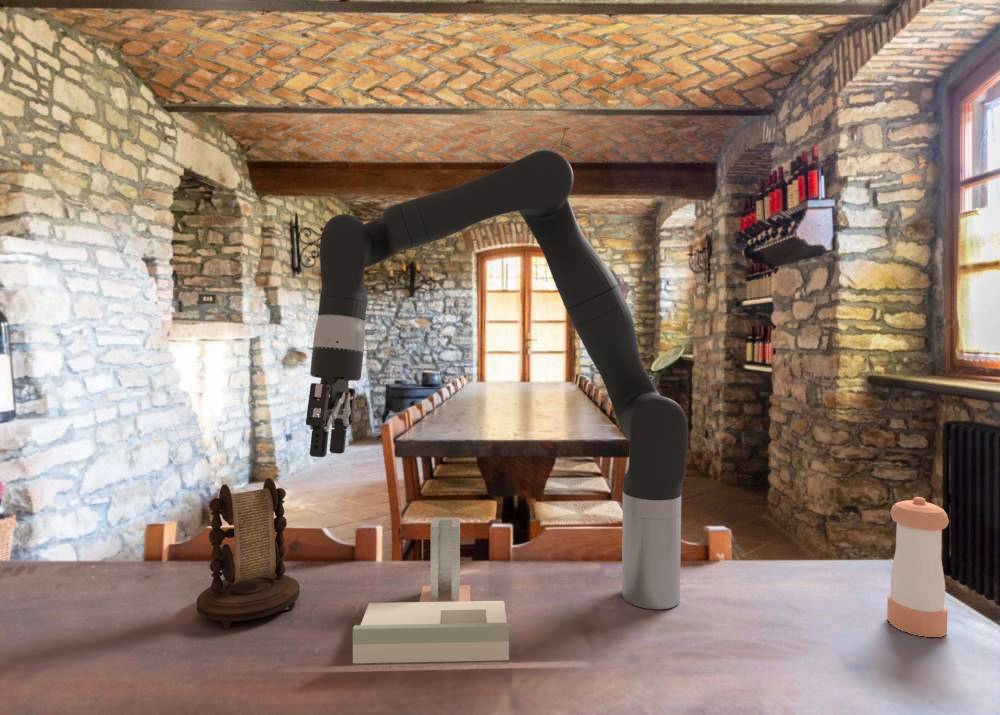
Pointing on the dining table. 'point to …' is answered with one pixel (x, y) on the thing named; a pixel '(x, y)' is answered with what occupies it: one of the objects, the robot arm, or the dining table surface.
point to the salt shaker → (918, 569)
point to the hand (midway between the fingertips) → (327, 454)
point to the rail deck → (432, 633)
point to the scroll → (248, 557)
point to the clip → (445, 558)
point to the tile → (445, 594)
